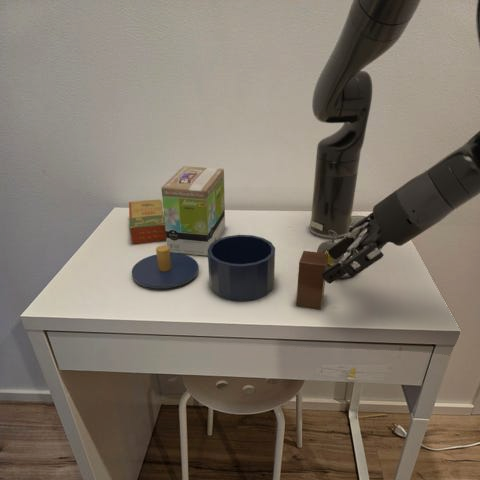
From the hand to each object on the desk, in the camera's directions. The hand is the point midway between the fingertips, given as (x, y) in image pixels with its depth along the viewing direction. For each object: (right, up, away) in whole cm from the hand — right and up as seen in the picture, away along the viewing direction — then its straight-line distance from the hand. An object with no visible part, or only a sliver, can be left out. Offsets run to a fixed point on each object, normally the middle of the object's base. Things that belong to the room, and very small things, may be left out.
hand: (328, 266), depth 75 cm
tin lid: (-30, +1, +14) cm, 33 cm away
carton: (-38, +13, +32) cm, 51 cm away
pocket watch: (+4, 0, +13) cm, 14 cm away
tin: (-15, -2, +10) cm, 18 cm away
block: (-2, -6, +5) cm, 8 cm away
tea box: (-25, +9, +26) cm, 37 cm away
